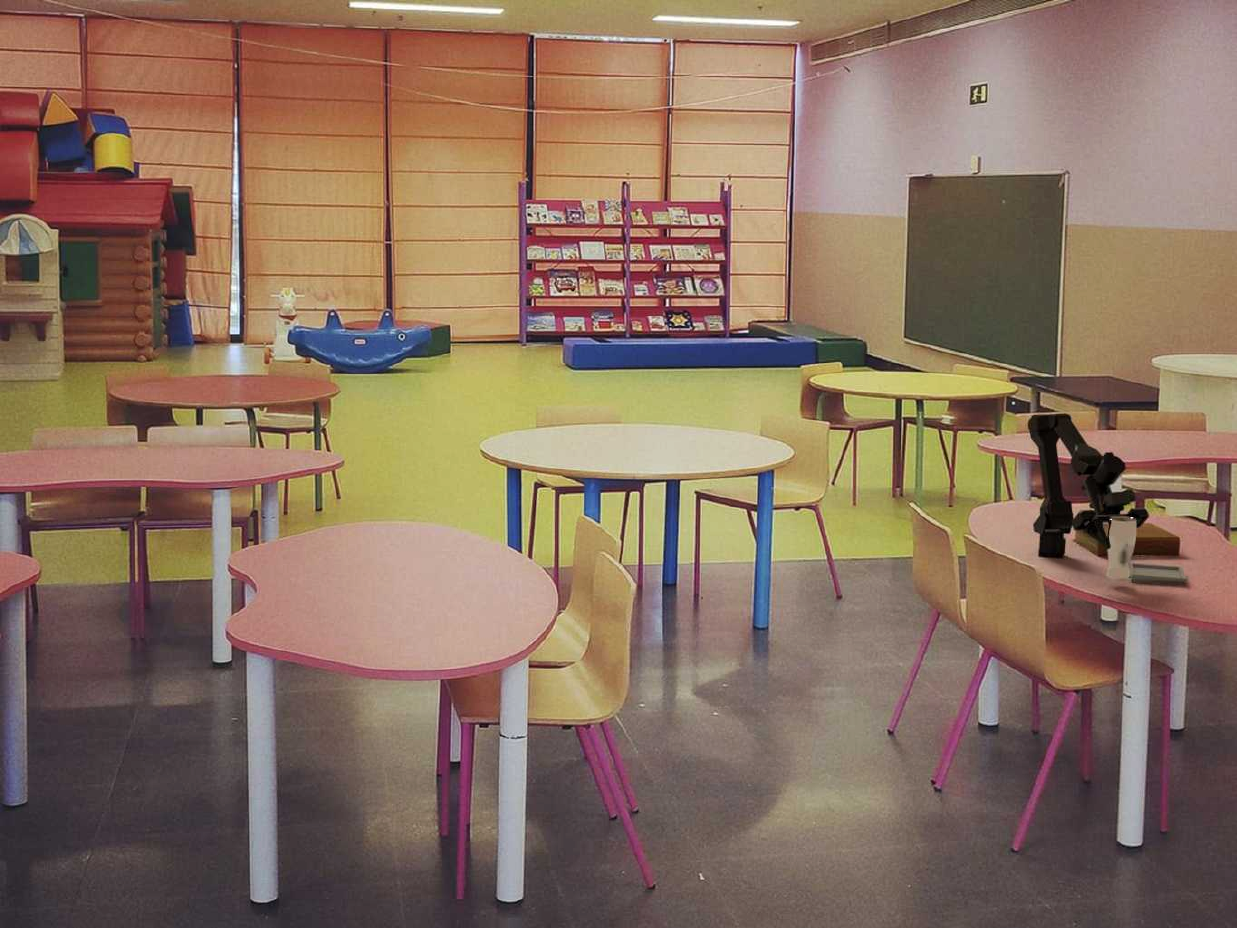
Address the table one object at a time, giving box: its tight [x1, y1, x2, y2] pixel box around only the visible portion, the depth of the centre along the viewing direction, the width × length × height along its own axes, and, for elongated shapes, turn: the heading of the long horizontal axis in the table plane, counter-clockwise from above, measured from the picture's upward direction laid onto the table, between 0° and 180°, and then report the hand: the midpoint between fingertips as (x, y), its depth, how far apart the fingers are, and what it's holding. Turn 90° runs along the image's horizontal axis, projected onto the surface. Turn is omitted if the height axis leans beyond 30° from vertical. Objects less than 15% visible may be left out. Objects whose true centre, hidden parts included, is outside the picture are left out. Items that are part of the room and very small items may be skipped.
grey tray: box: [1130, 562, 1187, 587], centre depth 357 cm, size 13×13×2 cm
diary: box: [1071, 522, 1181, 557], centre depth 390 cm, size 23×19×6 cm
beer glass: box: [1104, 516, 1136, 581], centre depth 347 cm, size 7×7×15 cm
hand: (1121, 547), depth 347 cm, fingers closed on beer glass, 7 cm apart
